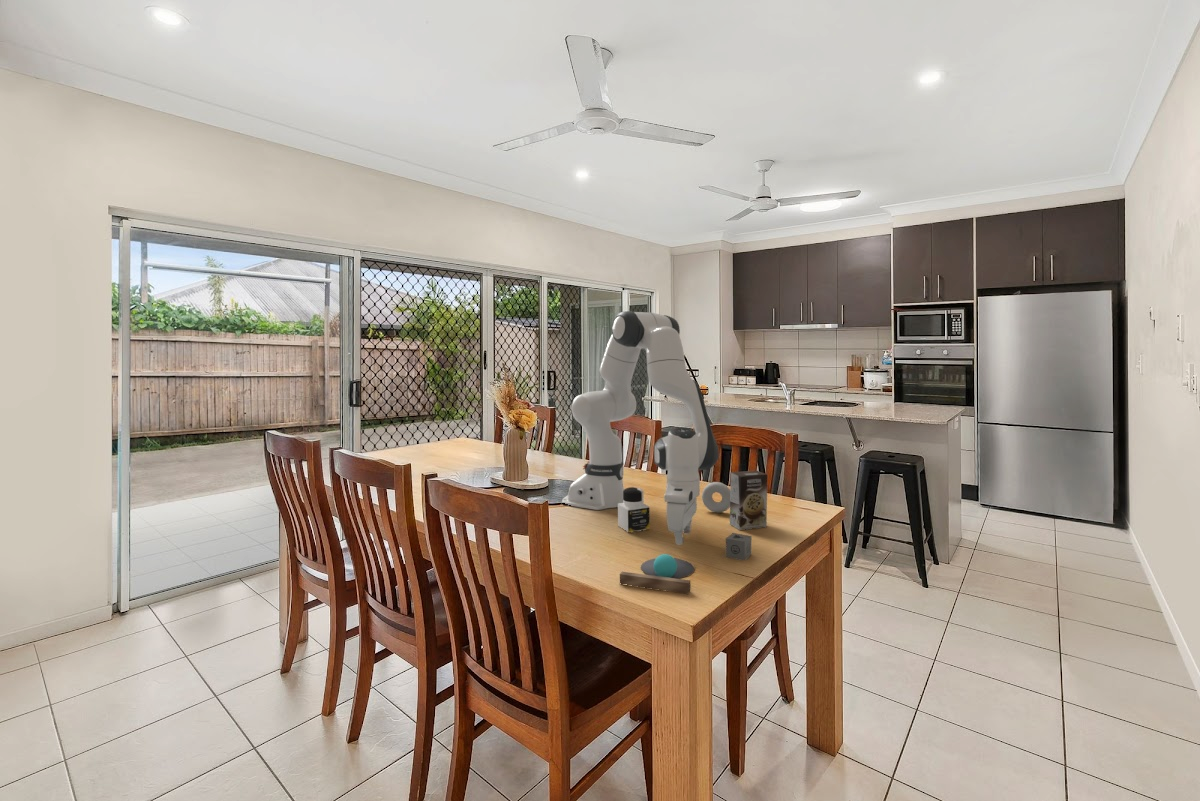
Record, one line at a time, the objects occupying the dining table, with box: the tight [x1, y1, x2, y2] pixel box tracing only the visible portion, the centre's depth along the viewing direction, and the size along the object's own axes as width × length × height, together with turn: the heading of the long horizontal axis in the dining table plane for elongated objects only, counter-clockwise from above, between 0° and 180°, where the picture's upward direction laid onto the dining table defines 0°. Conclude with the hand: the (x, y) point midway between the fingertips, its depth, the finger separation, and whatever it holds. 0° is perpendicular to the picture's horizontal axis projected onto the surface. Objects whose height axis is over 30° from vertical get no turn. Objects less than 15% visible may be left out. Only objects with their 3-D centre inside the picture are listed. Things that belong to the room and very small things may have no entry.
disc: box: [640, 557, 695, 579], centre depth 142 cm, size 13×13×1 cm
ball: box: [654, 553, 677, 578], centre depth 136 cm, size 6×6×6 cm
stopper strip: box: [619, 571, 691, 595], centre depth 131 cm, size 16×2×2 cm, turn 70°
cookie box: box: [729, 470, 768, 531], centre depth 172 cm, size 9×6×16 cm
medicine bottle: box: [617, 486, 650, 533], centre depth 173 cm, size 7×7×12 cm
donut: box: [701, 481, 730, 514], centre depth 187 cm, size 10×4×10 cm, turn 64°
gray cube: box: [725, 532, 752, 562], centre depth 149 cm, size 5×5×5 cm
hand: (683, 538), depth 159 cm, fingers open, 8 cm apart
